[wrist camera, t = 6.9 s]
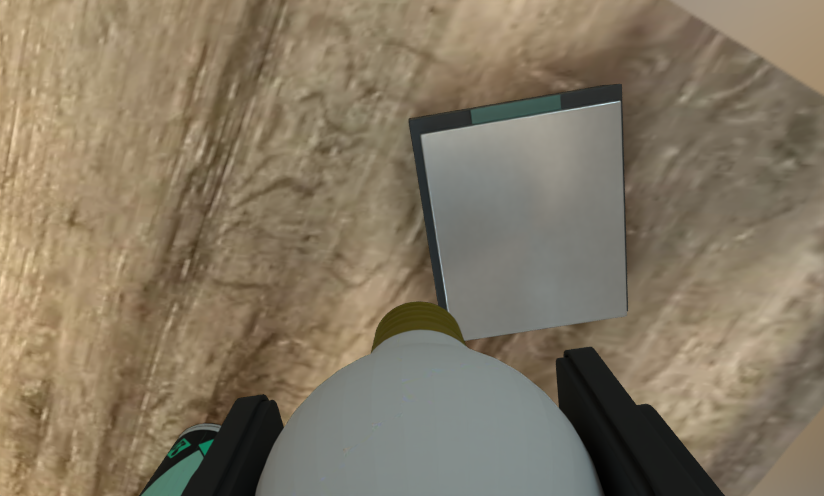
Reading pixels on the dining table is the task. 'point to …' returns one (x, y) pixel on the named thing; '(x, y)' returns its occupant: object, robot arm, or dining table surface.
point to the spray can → (181, 461)
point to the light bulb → (427, 424)
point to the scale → (526, 210)
